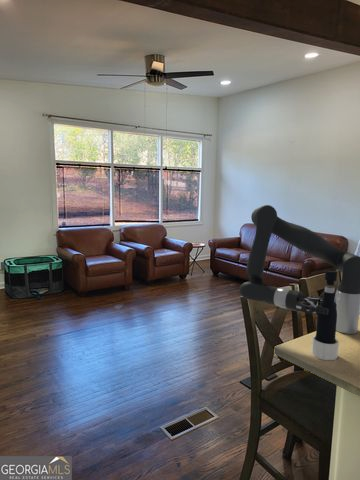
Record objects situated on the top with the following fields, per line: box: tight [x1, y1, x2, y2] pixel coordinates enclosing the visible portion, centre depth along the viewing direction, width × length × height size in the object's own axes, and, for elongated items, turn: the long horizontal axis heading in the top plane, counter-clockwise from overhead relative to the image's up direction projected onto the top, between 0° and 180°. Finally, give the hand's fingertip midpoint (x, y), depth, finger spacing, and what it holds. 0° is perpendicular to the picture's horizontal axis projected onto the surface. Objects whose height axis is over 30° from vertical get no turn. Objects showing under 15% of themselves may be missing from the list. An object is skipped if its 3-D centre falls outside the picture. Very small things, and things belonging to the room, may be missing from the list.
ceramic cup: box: [311, 334, 340, 361], centre depth 125 cm, size 8×8×6 cm
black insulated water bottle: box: [315, 269, 338, 344], centre depth 124 cm, size 6×6×30 cm
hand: (332, 309), depth 122 cm, fingers open, 8 cm apart
